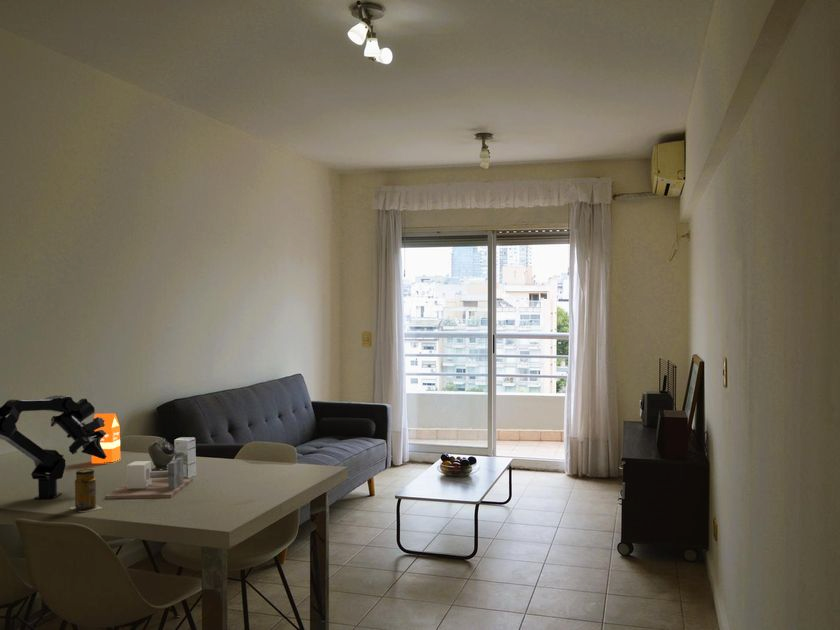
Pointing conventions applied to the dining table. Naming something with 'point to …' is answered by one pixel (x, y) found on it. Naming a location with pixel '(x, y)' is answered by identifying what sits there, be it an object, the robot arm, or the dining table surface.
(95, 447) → the robot arm
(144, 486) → the white box with window
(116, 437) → the orange juice
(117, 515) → the dining table surface
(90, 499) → the condiment
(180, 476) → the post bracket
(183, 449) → the syrup box
